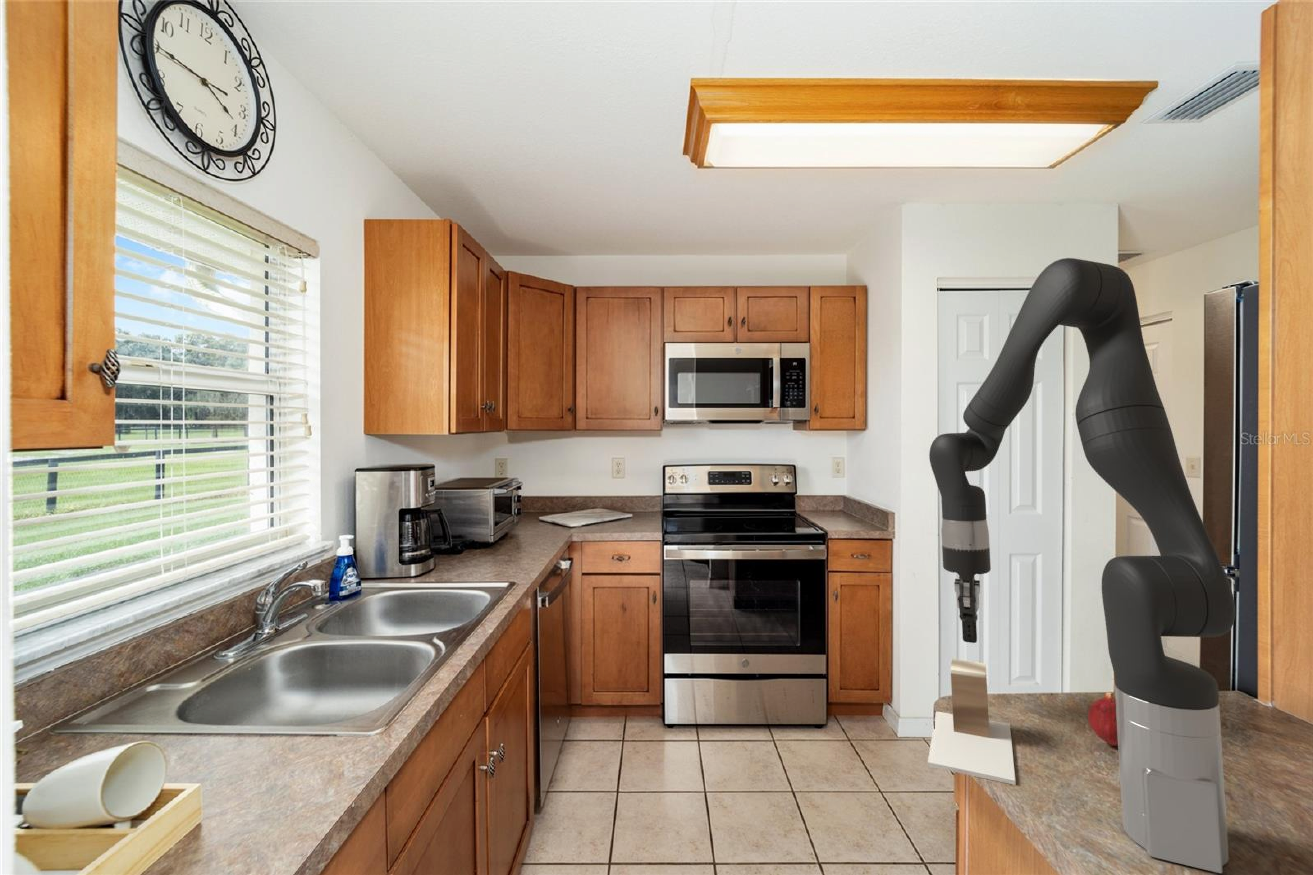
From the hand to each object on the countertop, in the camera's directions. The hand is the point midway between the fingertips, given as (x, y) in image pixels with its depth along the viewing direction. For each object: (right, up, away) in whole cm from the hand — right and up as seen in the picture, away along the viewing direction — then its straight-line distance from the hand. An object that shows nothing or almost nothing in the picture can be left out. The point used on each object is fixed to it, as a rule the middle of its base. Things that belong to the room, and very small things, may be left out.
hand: (970, 640), depth 102 cm
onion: (+14, -11, -14) cm, 23 cm away
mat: (-7, -12, -13) cm, 19 cm away
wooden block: (-4, -11, -8) cm, 15 cm away
